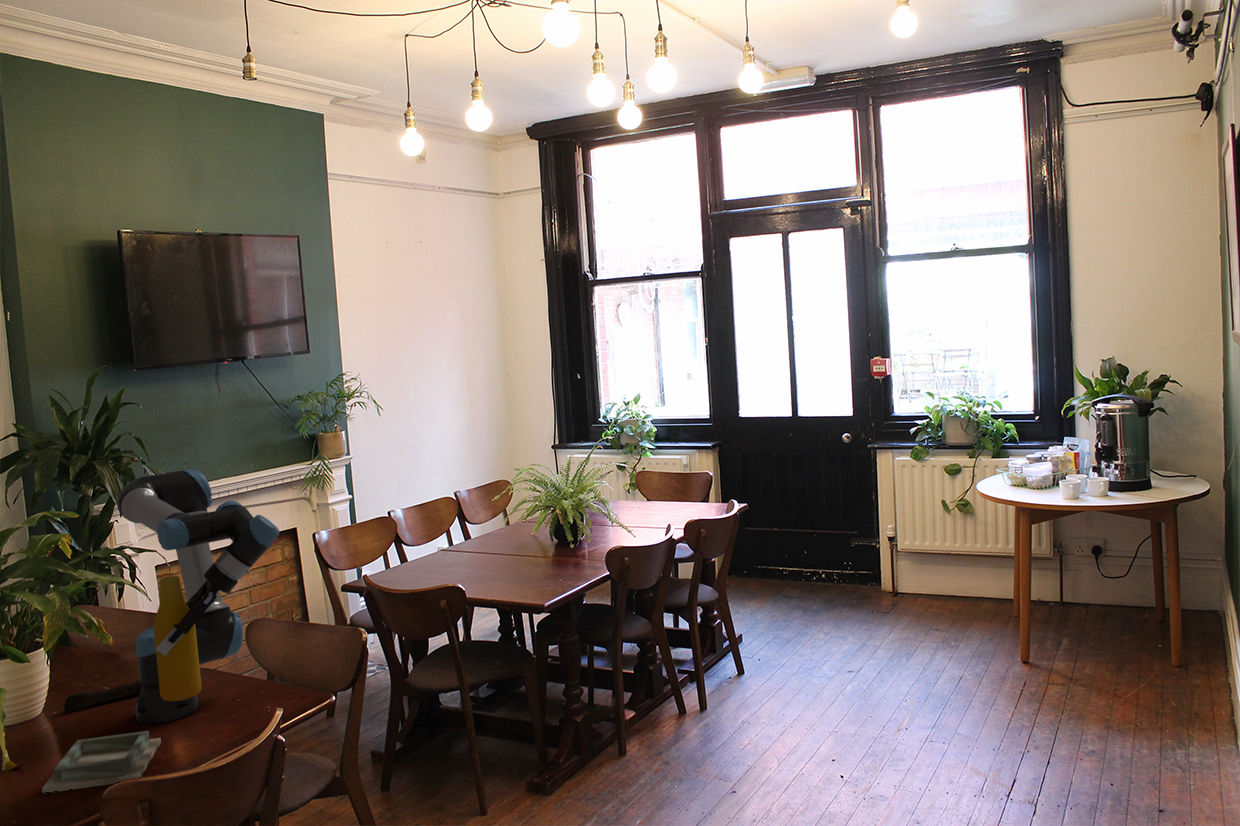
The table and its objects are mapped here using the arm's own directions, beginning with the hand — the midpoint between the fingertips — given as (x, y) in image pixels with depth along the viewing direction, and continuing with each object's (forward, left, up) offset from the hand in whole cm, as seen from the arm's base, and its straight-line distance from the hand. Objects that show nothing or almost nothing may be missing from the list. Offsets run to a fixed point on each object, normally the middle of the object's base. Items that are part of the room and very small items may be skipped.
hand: (161, 645), depth 228 cm
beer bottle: (-1, +3, -13) cm, 13 cm away
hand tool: (-39, -26, -27) cm, 54 cm away
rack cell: (+4, -14, -26) cm, 30 cm away
